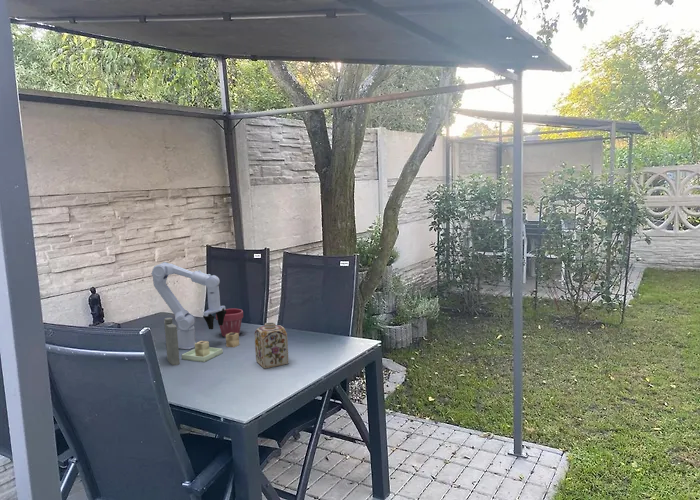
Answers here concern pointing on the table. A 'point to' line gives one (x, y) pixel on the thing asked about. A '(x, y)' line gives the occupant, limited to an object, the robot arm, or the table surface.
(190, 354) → the tray
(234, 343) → the oak block
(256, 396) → the table surface
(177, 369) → the table surface
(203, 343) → the birch block
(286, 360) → the decorative jar
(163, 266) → the robot arm
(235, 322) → the plant pot
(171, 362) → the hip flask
